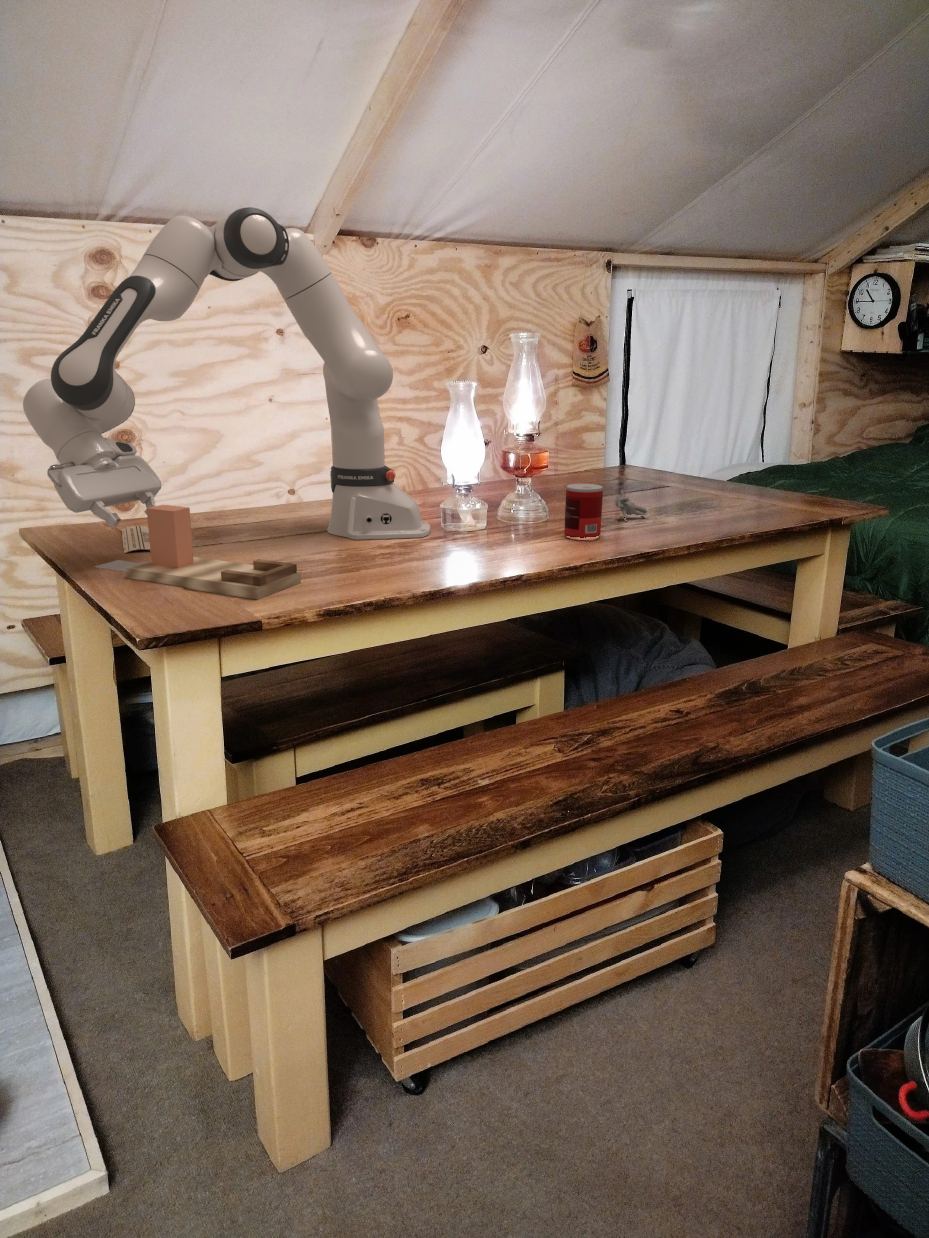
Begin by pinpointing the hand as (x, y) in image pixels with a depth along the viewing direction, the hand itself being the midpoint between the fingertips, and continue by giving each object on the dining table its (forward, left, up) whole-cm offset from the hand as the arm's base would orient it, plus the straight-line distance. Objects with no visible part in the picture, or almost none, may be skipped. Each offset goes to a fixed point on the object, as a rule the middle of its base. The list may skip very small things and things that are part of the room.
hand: (136, 519), depth 164 cm
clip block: (-7, +3, -7) cm, 10 cm away
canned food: (-85, -31, -10) cm, 91 cm away
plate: (+4, -2, -9) cm, 11 cm away
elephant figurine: (-99, -53, -10) cm, 112 cm away
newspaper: (+8, -25, -10) cm, 28 cm away
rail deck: (-15, +7, -9) cm, 19 cm away
